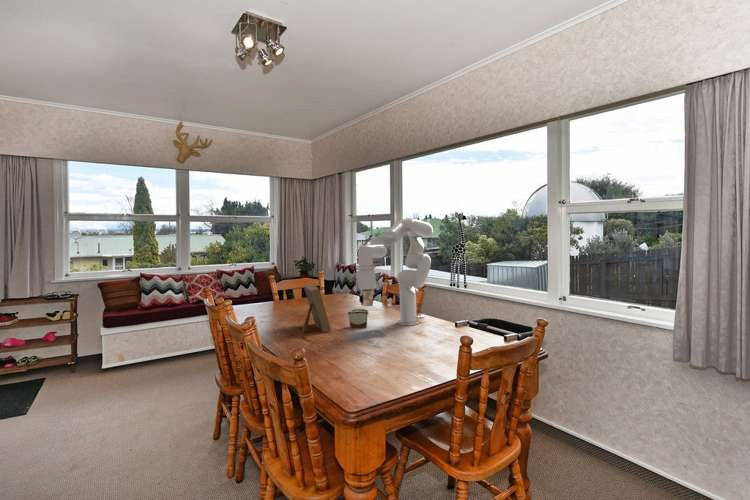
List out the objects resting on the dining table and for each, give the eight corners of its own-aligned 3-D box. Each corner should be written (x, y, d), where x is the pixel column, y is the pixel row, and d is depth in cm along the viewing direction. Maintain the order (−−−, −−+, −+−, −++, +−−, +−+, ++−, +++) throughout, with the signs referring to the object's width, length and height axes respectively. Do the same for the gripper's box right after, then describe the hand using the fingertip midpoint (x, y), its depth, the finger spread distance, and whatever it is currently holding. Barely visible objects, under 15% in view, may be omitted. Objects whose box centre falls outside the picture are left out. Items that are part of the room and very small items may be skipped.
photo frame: (321, 322, 234) (319, 282, 232) (331, 331, 214) (328, 287, 212) (297, 326, 229) (294, 284, 227) (304, 335, 208) (302, 290, 207)
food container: (370, 325, 225) (369, 308, 224) (369, 328, 218) (368, 310, 218) (349, 325, 226) (348, 308, 225) (347, 328, 220) (347, 311, 219)
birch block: (369, 304, 207) (369, 289, 206) (372, 305, 202) (372, 290, 202) (360, 304, 205) (360, 290, 205) (363, 306, 200) (363, 291, 200)
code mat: (378, 329, 214) (378, 329, 214) (388, 336, 201) (388, 336, 201) (344, 334, 208) (344, 333, 208) (351, 341, 195) (351, 341, 195)
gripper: (378, 266, 209) (379, 300, 210) (348, 268, 203) (349, 302, 204) (383, 268, 202) (384, 302, 203) (352, 269, 196) (353, 305, 197)
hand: (366, 302), depth 204 cm, fingers closed on birch block, 5 cm apart
